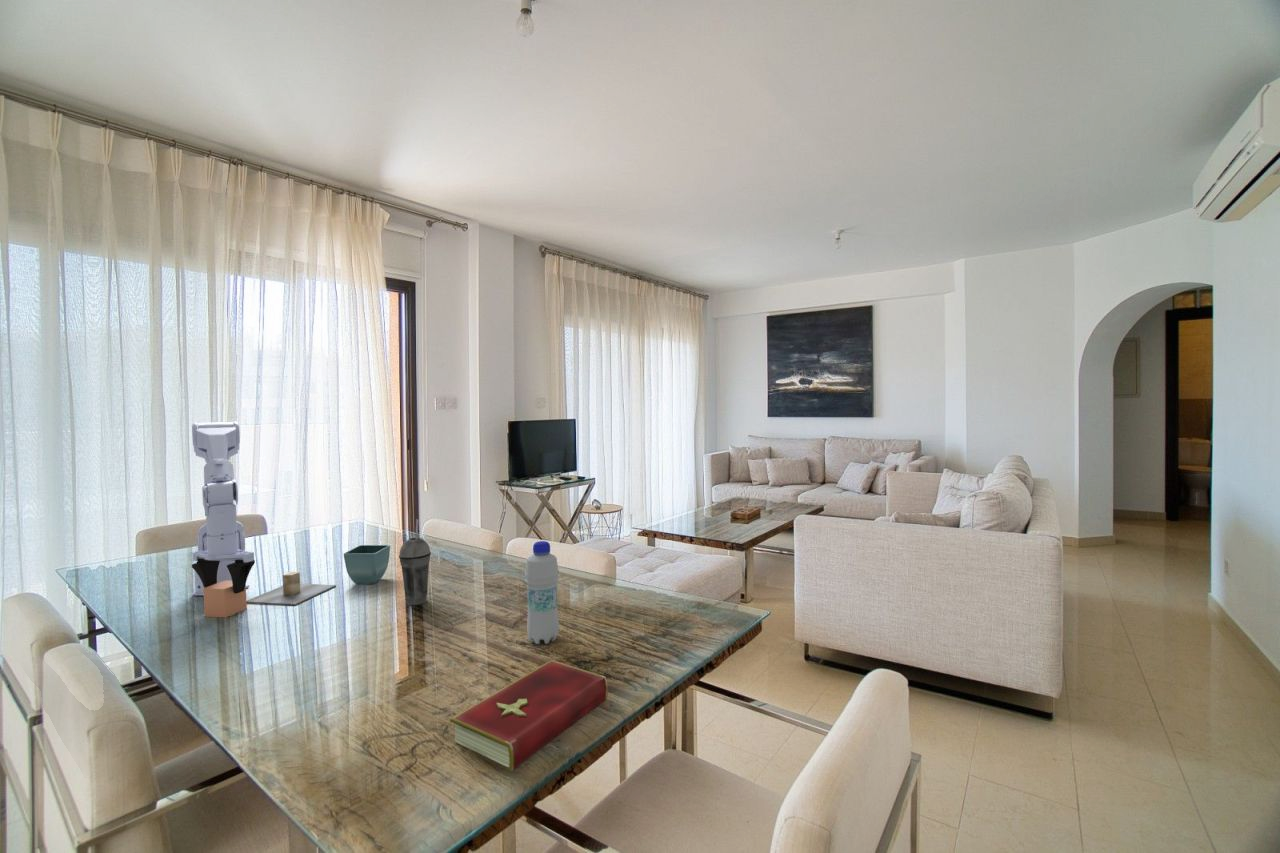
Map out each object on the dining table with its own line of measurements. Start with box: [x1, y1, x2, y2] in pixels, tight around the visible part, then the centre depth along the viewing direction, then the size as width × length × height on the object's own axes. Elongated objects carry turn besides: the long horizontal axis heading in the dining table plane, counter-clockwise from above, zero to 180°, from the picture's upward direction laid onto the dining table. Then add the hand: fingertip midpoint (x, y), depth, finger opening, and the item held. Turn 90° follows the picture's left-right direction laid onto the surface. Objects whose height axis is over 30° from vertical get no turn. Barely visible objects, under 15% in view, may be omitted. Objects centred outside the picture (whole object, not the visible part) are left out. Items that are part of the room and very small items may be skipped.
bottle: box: [524, 540, 560, 645], centre depth 112 cm, size 7×7×20 cm
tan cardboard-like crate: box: [203, 580, 248, 619], centre depth 131 cm, size 6×6×7 cm
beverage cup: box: [398, 518, 432, 606], centre depth 135 cm, size 7×7×20 cm
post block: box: [246, 571, 337, 607], centre depth 142 cm, size 14×14×5 cm
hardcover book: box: [449, 659, 609, 772], centre depth 84 cm, size 12×21×4 cm, turn 147°
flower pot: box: [343, 544, 391, 585], centre depth 152 cm, size 9×9×9 cm
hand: (225, 591), depth 130 cm, fingers open, 7 cm apart
